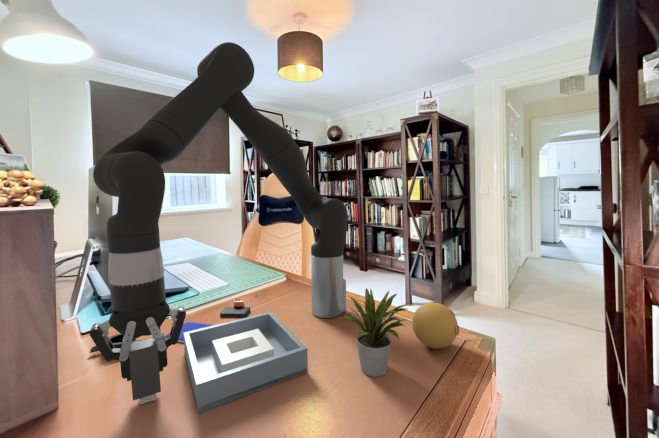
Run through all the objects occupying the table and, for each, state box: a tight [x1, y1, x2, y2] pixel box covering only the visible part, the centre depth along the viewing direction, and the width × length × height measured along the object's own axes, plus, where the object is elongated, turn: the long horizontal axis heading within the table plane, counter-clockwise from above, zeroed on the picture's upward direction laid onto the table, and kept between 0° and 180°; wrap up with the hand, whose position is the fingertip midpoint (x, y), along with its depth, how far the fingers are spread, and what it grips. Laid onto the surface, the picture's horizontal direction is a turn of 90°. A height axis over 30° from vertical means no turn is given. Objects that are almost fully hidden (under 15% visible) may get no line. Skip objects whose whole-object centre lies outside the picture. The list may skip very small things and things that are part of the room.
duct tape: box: [89, 332, 148, 354], centre depth 66 cm, size 8×10×3 cm
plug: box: [129, 337, 162, 405], centre depth 50 cm, size 4×3×10 cm
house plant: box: [344, 287, 414, 377], centre depth 57 cm, size 14×14×16 cm
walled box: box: [183, 311, 309, 414], centre depth 61 cm, size 20×20×5 cm
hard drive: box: [164, 321, 214, 344], centre depth 73 cm, size 2×8×12 cm
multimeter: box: [219, 294, 258, 318], centre depth 92 cm, size 18×12×3 cm, turn 173°
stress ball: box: [411, 302, 460, 350], centre depth 67 cm, size 10×10×10 cm
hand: (145, 373), depth 50 cm, fingers closed on plug, 4 cm apart
